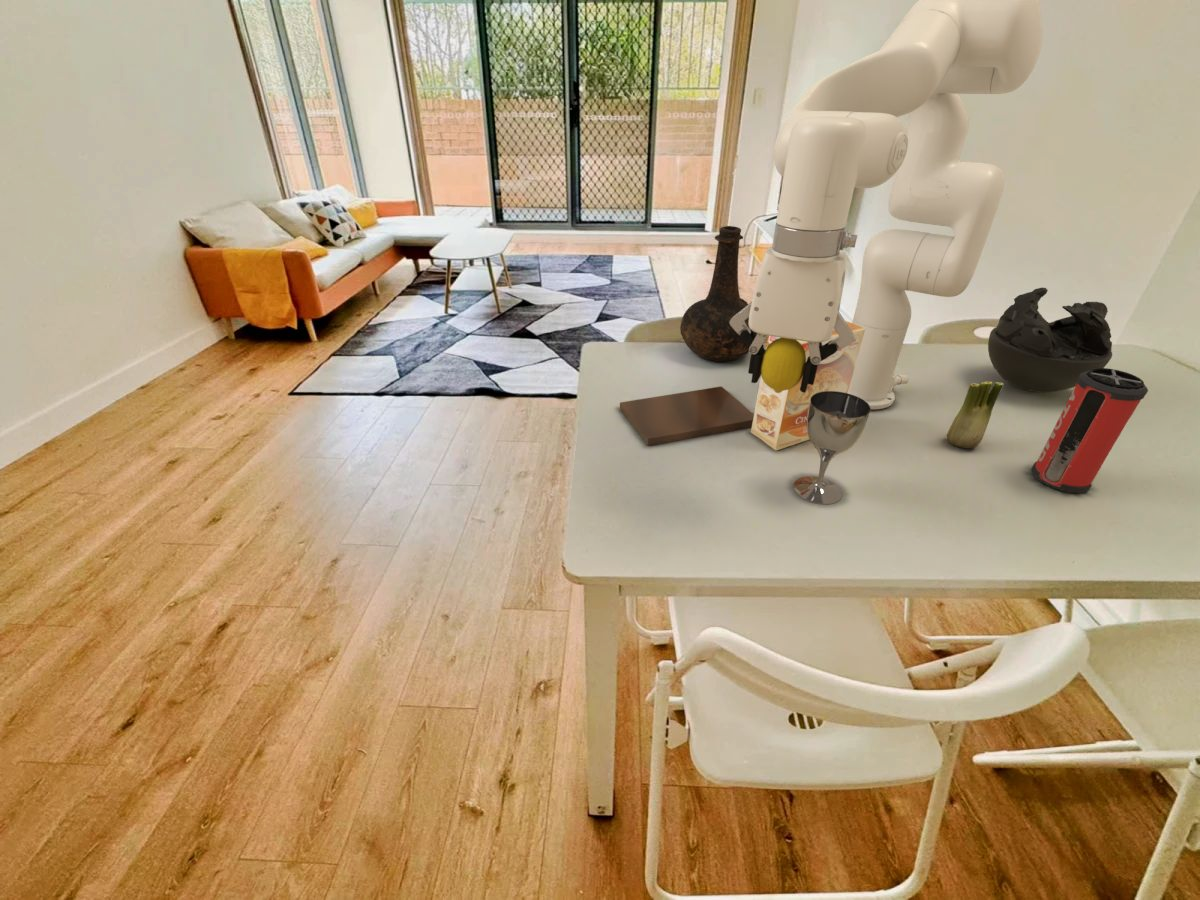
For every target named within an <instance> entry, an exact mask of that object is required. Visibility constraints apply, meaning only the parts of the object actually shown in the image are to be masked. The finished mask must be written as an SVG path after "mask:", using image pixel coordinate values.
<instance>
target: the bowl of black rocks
mask: <svg viewBox="0 0 1200 900" xmlns="http://www.w3.org/2000/svg"><path fill="white" fill-rule="evenodd" d="M1048 291H1049V289H1047V287H1038V288H1035V289H1033V290H1032V291H1029V292H1025V293H1022V294H1018V295H1017V296H1016V297H1015V298H1013V301H1014V303H1013V304H1011V305H1009V307H1008V308H1007V309H1005V310H1004V312H1003V314H1002V315H1001V316H999V320H998V323H997V325H996V327H994V328H993V329H992V330H991V331H990V333H989V337H988V342H987V350H988V357H989V360H990V362H991V364H992V365H991V366H992V367H993V368H994V370H995V372H997V374H998V375H999V376H1000V377H1001V378H1002V379H1003V380H1005V381H1006V382H1007V383H1009V384H1011V385H1013V386H1015V387H1017V388H1018V389H1019V388H1020V389H1022V390H1025V391H1030V392H1035V393H1056V392H1061V391H1066V390H1069V389H1072V388H1073V389H1074V388H1075V386H1076V384H1077V379H1078V377H1079V375H1080V374H1081V373H1083V372H1086V371H1089V370H1091V369H1094V368H1106V366H1107V365H1108V364H1109V362H1110V361H1111V359H1112V357H1113V351H1112V349H1113V348H1112V346H1113V342H1112V340H1111V338H1112V333H1111V328H1110V325H1109V323H1108V321H1107V320H1106V316H1107V315H1108V312H1109V311H1108V307H1107V305H1106V303H1104V302H1101V301H1085V302H1083V303H1081V302H1074V303H1073V304H1072V305H1062V307H1061V308H1062V309H1063V310H1065V311H1066V312H1067V313H1069V314H1070V315H1069V316H1066V317H1063V318H1059V319H1056V320H1054V321H1051V322H1049V321H1047V320H1046V319H1045V318H1044V317H1043V315H1042V314H1041V313H1040V311H1039V302H1040V300H1041V299H1042V298H1043V297H1044V296H1045V295H1046V294H1047V293H1048Z"/></svg>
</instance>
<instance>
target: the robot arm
mask: <svg viewBox="0 0 1200 900" xmlns="http://www.w3.org/2000/svg"><path fill="white" fill-rule="evenodd" d="M1042 21H1043V20H1042V15H1041V8H1040V2H1039V0H918V1H916V2H915V3H914V4H913V6H912V7H911V8H910V9H909V10H908V12H907V13H906V15H905V16H904V17H903V18H902V19H901V21H900V23H899V24H898V25H897V26H896V27H895V29H894V30H893V32H892V33H891V35H890V36H889V37H888V38H887V40H886V41H885V42H884V44H883V45H882V46H881V48H880V49H879V50H877V51H875V52H873V53H871V54H868V55H865V56H864V57H862V58H860V59H858V60H856V61H854V62H852V63H850V64H848V65H846V66H844V67H842V68H840V69H838V70H835V71H834V72H832V73H829V74H828V75H827V76H824V77H823V78H821V79H820V80H818V81H817V82H816V83H814V84H813V85H812V86H811V87H810V88H808V90H807V91H806V92H805V93H804V94H803V95H802V96H801V98H799V100H798V101H797V102H796V104H795V106H793V108H792V109H791V110H790V112H789V113H788V114H787V115H786V118H785V120H784V121H783V123H782V125H781V127H780V129H779V131H778V134H777V136H776V140H775V143H774V148H773V161H774V166H775V169H776V171H777V172H778V174H779V175H780V176H781V177H783V178H782V182H781V183H782V184H781V189H780V195H779V202H778V209H777V215H776V221H775V227H774V233H773V239H772V245H771V246H769V247H767V248H766V250H765V253H764V255H763V258H762V261H761V263H760V267H759V270H758V274H757V278H756V282H755V285H754V290H753V294H752V299H751V301H750V302H749V303H747V304H748V305H747V306H746V307H744V308H743V309H742V310H741V311H740V312H738V313H737V314H736V315H735V316H733V317H732V319H731V320H730V322H729V324H730V325H731V327H732V328H733V329H734V330H735V331H736V332H737V334H739V335H740V338H741V339H742V341H743V342H744V343H745V344H746V346H747V347H748V348H749V352H748V353H749V354H750V359H749V365H748V372H747V373H748V374H749V375H751V379H750V380H751V382H750V383H751V384H756V383H758V382H759V381H760V379H761V361H762V357H763V355H764V352H765V350H766V348H765V346H764V342H765V341H766V340H767V338H768V336H775V337H781V338H787V339H794V340H801V341H807V342H808V348H809V354H810V356H809V357H808V359H807V361H806V364H805V368H804V373H803V378H802V382H801V387H800V391H801V392H804V393H805V392H806V389H807V386H808V384H810V385H813V384H814V380H815V376H816V372H817V367H818V364H819V363H820V362H821V361H822V360H824V359H826V358H827V357H829V356H831V355H832V354H834V353H835V352H836V351H838V350H840V349H842V348H844V347H846V346H848V345H850V344H852V343H853V342H854V338H855V335H854V333H853V332H852V330H851V329H850V327H849V326H848V324H847V323H846V321H847V320H845V318H844V317H843V315H842V314H841V313H840V307H841V303H842V297H843V291H844V285H845V277H846V267H847V255H846V254H844V253H842V252H841V251H843V250H844V249H848V248H854V249H855V247H856V243H857V241H858V240H857V239H858V234H851V232H848V230H846V228H847V222H848V218H849V212H850V209H851V204H852V200H853V195H854V191H855V188H857V189H872V188H876V187H879V186H881V185H883V184H885V183H887V182H888V181H889V180H890V179H891V178H893V176H894V179H893V181H892V185H891V188H890V189H891V190H890V194H889V197H888V198H889V199H888V212H889V214H890V216H892V217H893V218H895V219H896V220H900V221H905V222H910V223H915V224H925V225H932V226H940V227H948V228H951V229H952V231H953V233H954V236H953V235H945V234H937V233H931V232H926V231H917V230H909V229H898V228H894V229H885V230H882V231H879V232H877V233H876V234H874V235H873V236H871V238H870V239H869V240H868V242H867V244H866V246H865V248H864V252H863V256H862V265H861V266H862V267H861V279H860V286H859V292H858V297H857V302H856V307H855V311H854V314H853V318H852V322H851V323H853V324H855V325H858V326H860V327H862V328H864V329H866V330H865V332H864V336H863V339H862V343H861V346H860V350H859V353H858V357H857V361H856V364H855V368H854V371H853V375H852V379H851V382H850V386H849V389H848V394H851V395H854V396H857V397H859V398H861V399H863V400H864V401H865V402H867V403H868V404H869V406H870V411H873V410H882V409H886V408H888V407H891V406H892V405H893V404H894V402H895V399H896V395H895V392H894V391H893V388H895V387H896V386H897V385H898V386H899V385H904V384H908V382H909V380H910V377H909V375H908V374H906V373H903V374H897V375H895V374H894V373H895V370H896V367H897V364H898V361H899V357H900V354H901V350H902V347H903V344H904V342H905V338H906V335H907V331H908V328H909V325H910V323H911V319H912V306H911V302H910V300H909V298H908V295H907V293H906V291H907V292H913V293H919V294H924V295H925V294H926V295H930V296H935V297H936V296H938V297H943V298H953V297H956V296H959V295H961V294H962V293H963V292H965V290H966V289H967V288H968V286H969V284H970V283H971V281H972V279H973V277H974V274H975V272H976V270H977V267H978V264H979V261H980V259H981V256H982V253H983V250H984V247H985V244H986V242H987V238H988V236H989V233H990V230H991V227H992V225H993V222H994V219H995V217H996V214H997V212H998V208H999V205H1000V202H1001V199H1002V196H1003V192H1004V186H1005V176H1004V171H1003V170H1002V169H1001V168H1000V167H999V166H998V165H995V164H992V163H987V162H976V161H975V162H974V161H964V160H963V161H962V160H961V153H962V150H963V147H964V143H965V140H966V137H967V136H968V135H967V134H968V131H969V127H970V119H969V115H968V112H967V110H966V107H965V104H964V102H963V100H962V98H961V97H960V95H966V94H967V95H1004V94H1009V93H1012V92H1014V91H1016V90H1018V89H1019V88H1020V87H1022V86H1023V84H1025V82H1026V81H1027V80H1028V78H1030V76H1031V74H1032V72H1033V71H1034V69H1035V66H1036V64H1037V62H1038V59H1039V57H1040V53H1041V49H1042V44H1043V34H1044V33H1043V32H1044V29H1043V22H1042ZM905 115H907V127H906V126H905V124H904V122H903V121H902V119H900V118H899V117H902V116H905ZM748 317H749V327H747V325H746V324H745V320H746V319H747V318H748ZM834 329H835V330H836V332H837V333H838V335H839V337H837V338H836V339H834V340H831V341H829V342H828V343H826V344H825V345H823V346H822V342H825V341H827V340H829V339H830V337H831V335H832V332H833V330H834ZM753 331H754V332H756V333H758V334H757V335H755V334H754V332H753Z"/></svg>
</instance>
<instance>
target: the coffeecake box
mask: <svg viewBox="0 0 1200 900" xmlns="http://www.w3.org/2000/svg"><path fill="white" fill-rule="evenodd" d="M845 321H846V323H847V324H848V326H849V327H850V329H851V330H852V332H853V333H854V335H855V338H854V342H853V343H852V344H850V345H848V346H846V347H844V348H842V349H840V350H838V351H836V352H835V353H834V354H832V355H831V356H829V357H827V358H826V359H824V360H822V361H821V362H820V363H819V364H818V367H817V372H816V376H815V380H814V384H813V385H810V384H808V386H807V389H806V392H805V393H804V392H801V391H800V387H801V382H802V378H803V376H802V378H801V380H800V381H799V383H798V384H797V385H796V386H794V387H793V388H791V389H788V390H784V391H782V392H780V393H776V392H775V391H774V390H773V389H772V388H770V387H769V386H767V385H766V384H765V382H764V381H763V379H762V376H760V378H759V384H758V390H757V396H756V400H755V407H754V413H753V414H754V418H753V423H752V427H751V428H750V433H751V434H752V435H753V436H755V437H756V438H758V439H760V440H761V441H762V442H763V443H765V444H766V445H767V446H769V447H770V448H771V449H773V450H774V451H780V450H783V449H786V448H788V447H791V446H794V445H798V444H801V443H803V442H806V441H810V439H809V437H808V434H807V413H808V407H809V403H810V399H811V397H812V396H813V395H814V394H816V393H819V392H825V391H836V392H843V393H848V389H849V386H850V382H851V379H852V375H853V371H854V368H855V364H856V361H857V357H858V353H859V350H860V346H861V343H862V339H863V336H864V332H865V330H866V329H864V328H862V327H860V326H858V325H855V324H853V323H852V322H850V321H847V320H845ZM837 337H839V335H838V333H837V332H836V330H835V329H834V330H833V332H832V335H831V337H830V339H829V340H827V341H825V342H822V346H823V345H825V344H826V343H828V342H829V341H831V340H834V339H836V338H837ZM779 338H781V337H775V336H768V335H767V339H766V340H767V341H766V347H765V349H766V348H767V347H768V345H769V344H770V343H772V342H773V341H774V340H776V339H779ZM797 341H798V342H799V343H800V344H801V345H802V346H803V348H804V350H805V355H806V361H807V359H808V357H809V356H810V354H809V348H808V342H807V341H801V340H797Z"/></svg>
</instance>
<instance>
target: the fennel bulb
mask: <svg viewBox="0 0 1200 900" xmlns="http://www.w3.org/2000/svg"><path fill="white" fill-rule="evenodd" d="M992 385H993V386H992ZM1003 387H1004V383H1003V382H998V381H997V382H996V381H995V382H994V384H993V381H983V382H980V383H976V382H975V383H973V382H972V383H970V384H969V386H968V390H967V392H966V396H965V398H964V401H963V404H962V406H961V407H960V409H959V411H958V413H957V414H956V415H955V417H954V418H953V420H952V423H951V425H950V427H949V429H948V431H947V434H946V439H947V441H948V442H949V444H951V445H952V446H955V447H959V448H962V449H973V448H976V447H977V446H979V444H980V443H981V441H982V440H983V439H984V436H985V433H986V431H987V428H988V425H989V422H990V418H991V416H992V411H993V409H994V407H995V404H996V402H997V400H998V397H999V395H1000V393H1001V391H1002V389H1003Z"/></svg>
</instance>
